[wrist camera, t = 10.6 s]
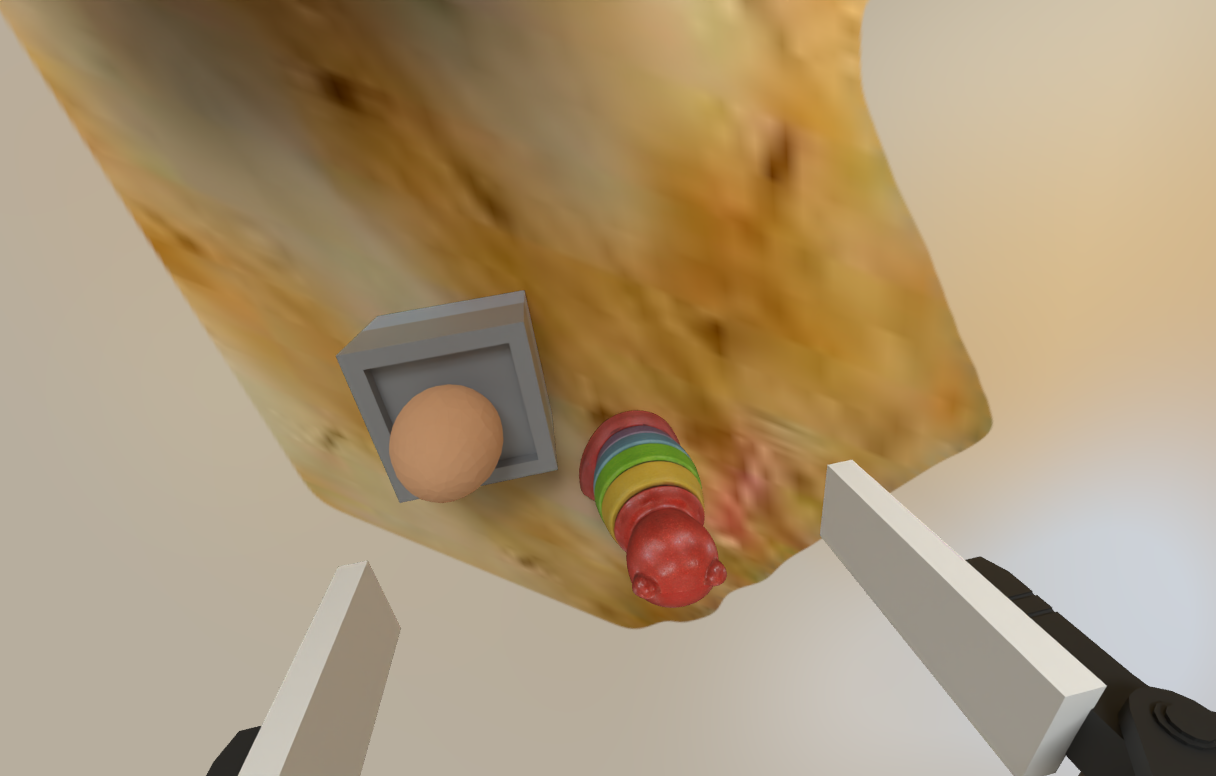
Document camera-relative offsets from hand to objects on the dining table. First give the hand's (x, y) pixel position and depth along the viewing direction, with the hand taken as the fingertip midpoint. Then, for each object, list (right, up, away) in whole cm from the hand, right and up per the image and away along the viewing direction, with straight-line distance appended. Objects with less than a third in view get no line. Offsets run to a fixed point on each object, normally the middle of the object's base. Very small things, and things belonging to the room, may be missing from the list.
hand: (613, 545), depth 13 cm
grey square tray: (-12, +6, +27) cm, 30 cm away
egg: (-11, +3, +20) cm, 23 cm away
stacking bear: (+2, -2, +34) cm, 34 cm away
